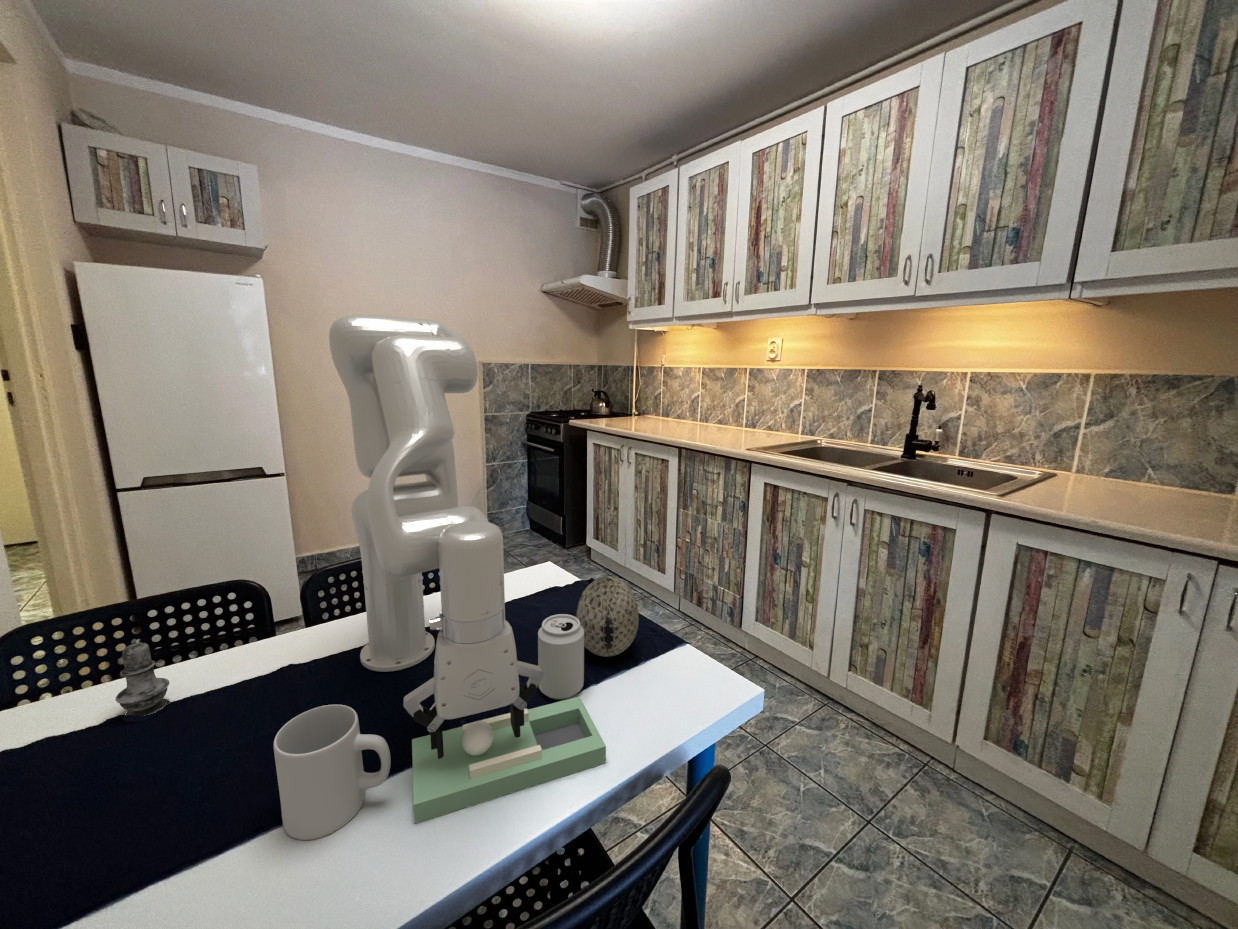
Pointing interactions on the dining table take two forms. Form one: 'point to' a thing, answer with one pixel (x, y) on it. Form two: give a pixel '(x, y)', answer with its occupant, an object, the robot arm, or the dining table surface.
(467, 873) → the dining table surface
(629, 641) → the decorative egg
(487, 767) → the green
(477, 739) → the ball
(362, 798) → the mug
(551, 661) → the can
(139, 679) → the gray stone finial
